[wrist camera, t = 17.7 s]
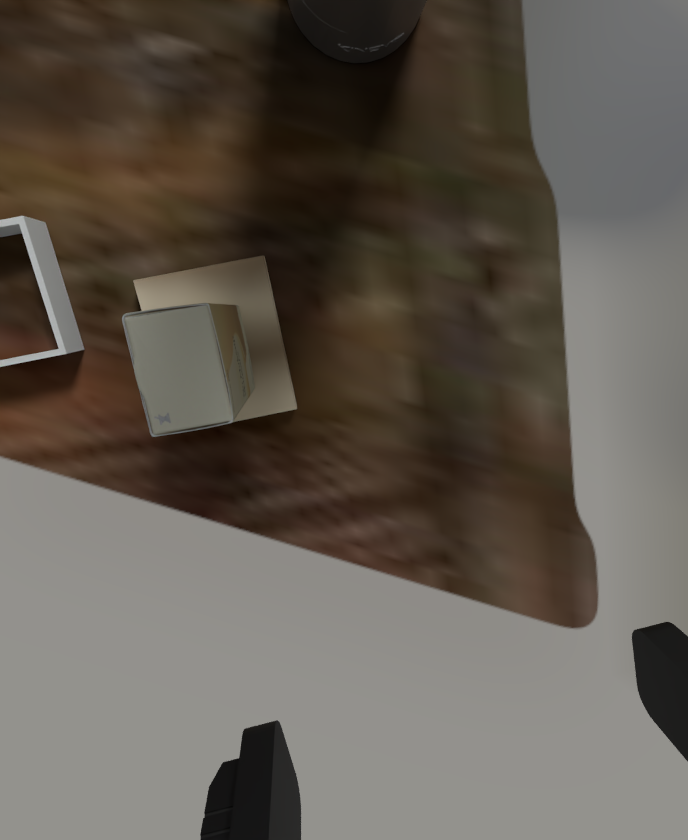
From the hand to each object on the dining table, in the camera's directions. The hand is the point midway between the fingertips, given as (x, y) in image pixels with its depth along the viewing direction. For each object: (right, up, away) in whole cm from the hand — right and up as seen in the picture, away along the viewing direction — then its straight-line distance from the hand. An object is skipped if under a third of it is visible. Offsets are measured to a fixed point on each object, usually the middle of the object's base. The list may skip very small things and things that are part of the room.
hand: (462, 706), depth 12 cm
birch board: (-12, +12, +27) cm, 32 cm away
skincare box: (-12, +11, +26) cm, 31 cm away
